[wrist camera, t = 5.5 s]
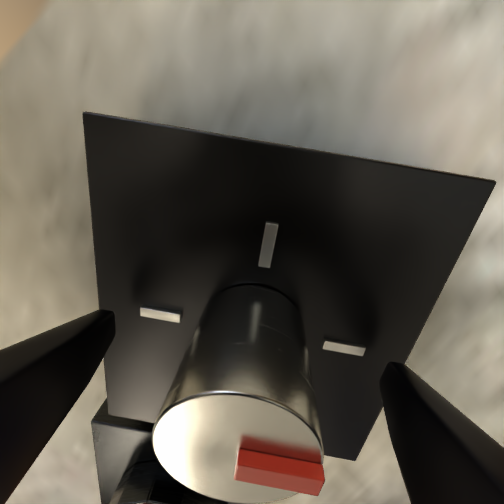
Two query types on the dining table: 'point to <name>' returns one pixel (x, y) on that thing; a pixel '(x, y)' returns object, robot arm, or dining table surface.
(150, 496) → the block
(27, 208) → the dining table surface
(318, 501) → the dining table surface
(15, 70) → the dining table surface
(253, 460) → the knob
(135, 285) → the panel
